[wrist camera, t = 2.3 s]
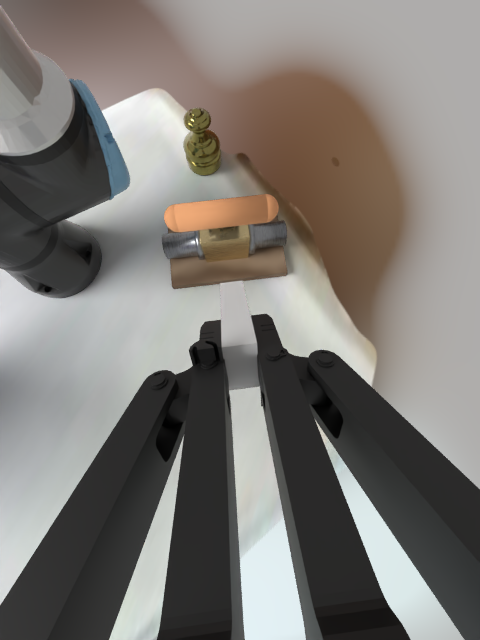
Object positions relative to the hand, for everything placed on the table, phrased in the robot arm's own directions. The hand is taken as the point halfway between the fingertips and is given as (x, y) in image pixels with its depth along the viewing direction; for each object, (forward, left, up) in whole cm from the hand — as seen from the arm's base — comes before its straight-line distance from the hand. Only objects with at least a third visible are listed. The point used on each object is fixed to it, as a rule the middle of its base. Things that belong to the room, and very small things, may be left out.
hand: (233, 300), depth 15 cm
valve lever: (-15, +12, -18) cm, 26 cm away
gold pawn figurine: (-32, +24, -27) cm, 48 cm away
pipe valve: (-14, +12, -27) cm, 32 cm away
